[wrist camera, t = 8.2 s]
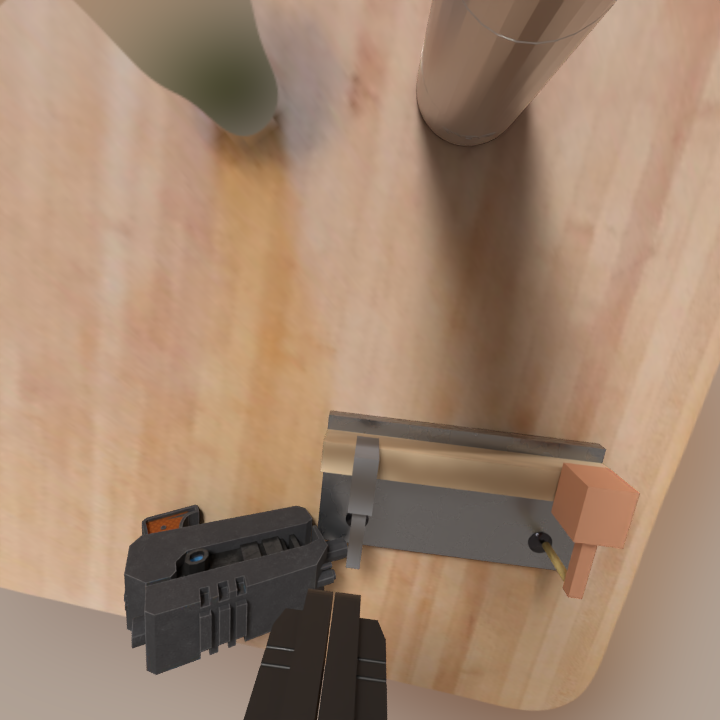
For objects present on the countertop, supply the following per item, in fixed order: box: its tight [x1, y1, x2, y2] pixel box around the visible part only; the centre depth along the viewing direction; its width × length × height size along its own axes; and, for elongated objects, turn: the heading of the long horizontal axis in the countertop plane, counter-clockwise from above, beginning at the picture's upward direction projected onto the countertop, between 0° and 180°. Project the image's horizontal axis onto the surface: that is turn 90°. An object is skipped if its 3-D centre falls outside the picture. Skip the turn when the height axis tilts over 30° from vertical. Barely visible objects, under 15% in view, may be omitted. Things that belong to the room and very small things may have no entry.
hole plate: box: [318, 411, 606, 570], centre depth 38 cm, size 14×27×1 cm, turn 84°
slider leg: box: [542, 462, 640, 599], centre depth 34 cm, size 11×4×7 cm, turn 174°
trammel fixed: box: [320, 429, 607, 569], centre depth 34 cm, size 11×27×7 cm, turn 84°
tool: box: [124, 505, 348, 675], centre depth 36 cm, size 6×19×15 cm, turn 85°
